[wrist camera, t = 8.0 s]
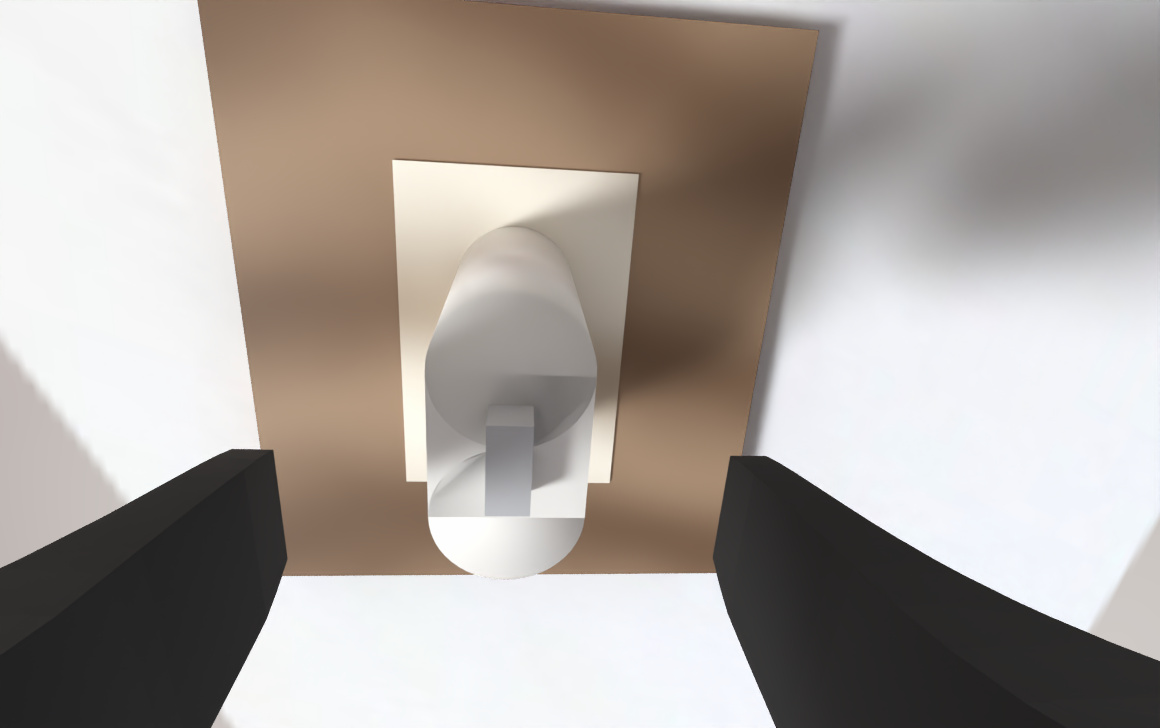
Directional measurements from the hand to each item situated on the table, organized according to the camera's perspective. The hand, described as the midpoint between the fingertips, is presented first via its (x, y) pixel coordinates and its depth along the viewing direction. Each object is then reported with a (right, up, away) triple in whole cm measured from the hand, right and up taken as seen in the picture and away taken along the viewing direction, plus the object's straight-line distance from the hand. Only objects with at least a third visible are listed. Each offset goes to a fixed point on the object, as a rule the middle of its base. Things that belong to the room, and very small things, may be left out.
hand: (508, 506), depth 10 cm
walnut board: (-1, +3, +8) cm, 9 cm away
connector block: (-1, +3, +7) cm, 8 cm away
